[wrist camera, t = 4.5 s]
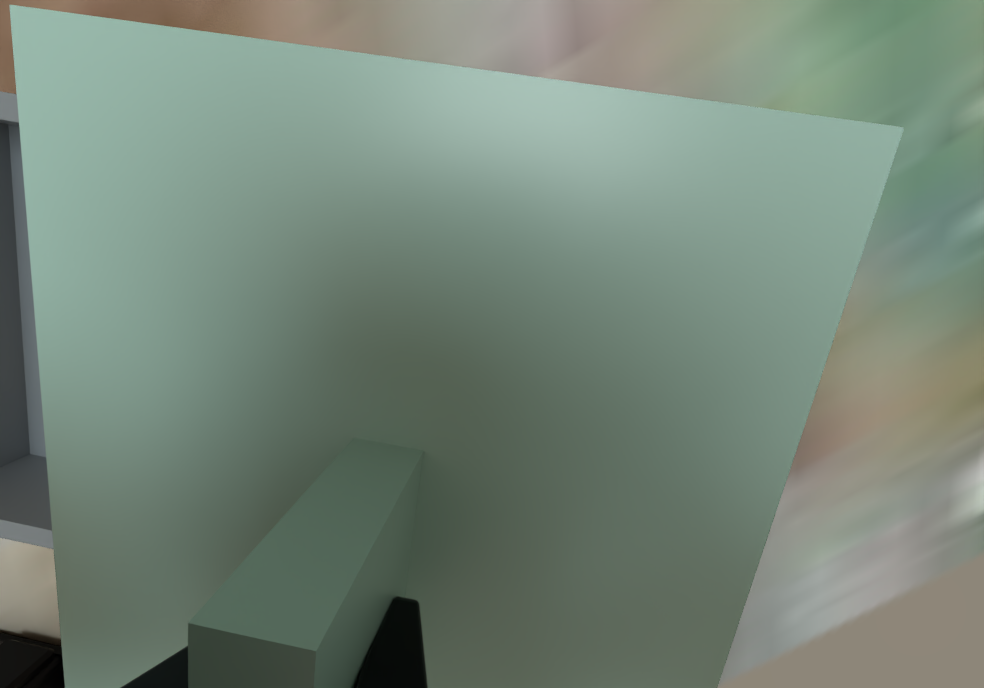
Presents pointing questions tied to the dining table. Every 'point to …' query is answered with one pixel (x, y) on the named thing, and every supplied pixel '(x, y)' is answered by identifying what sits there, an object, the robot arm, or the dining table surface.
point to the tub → (19, 357)
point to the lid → (416, 355)
